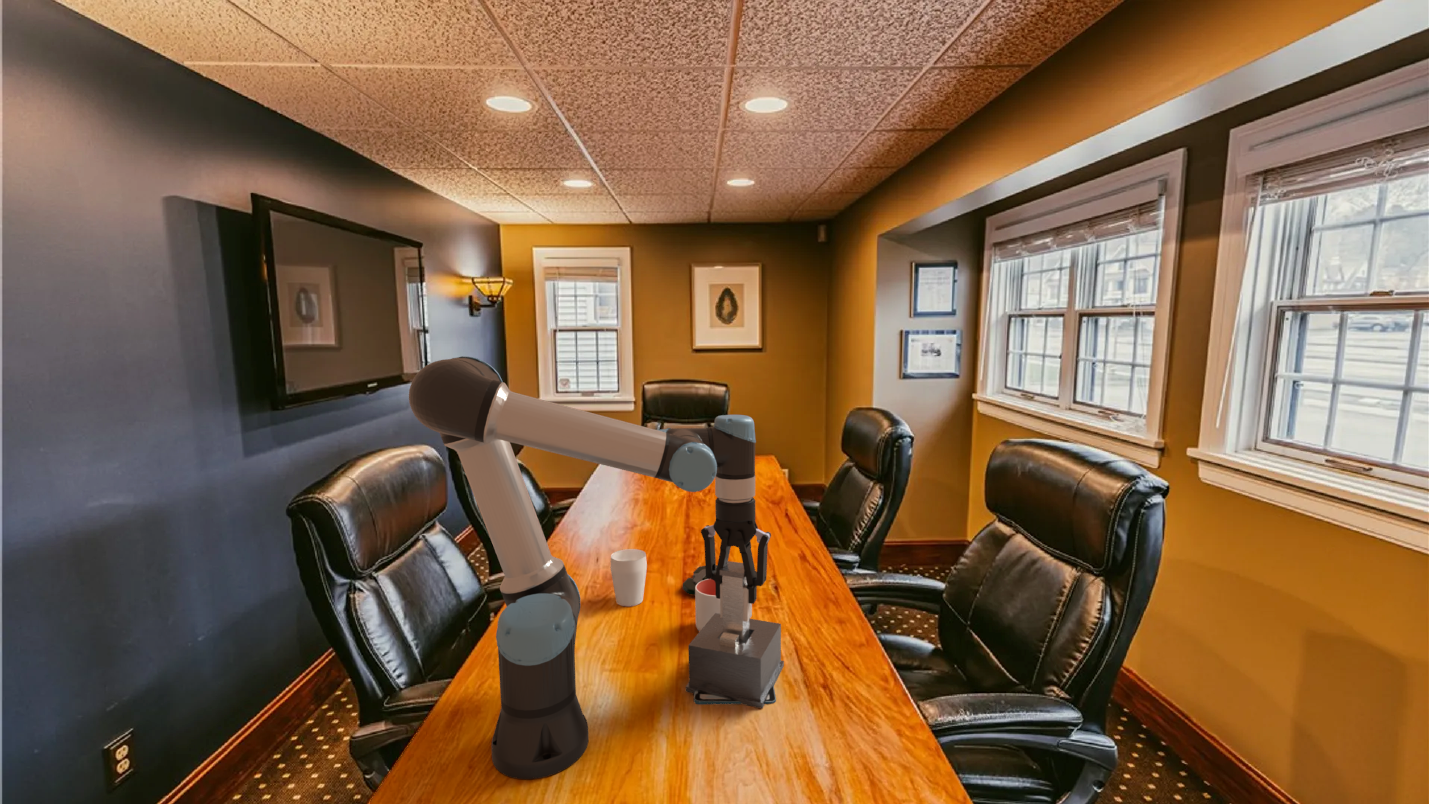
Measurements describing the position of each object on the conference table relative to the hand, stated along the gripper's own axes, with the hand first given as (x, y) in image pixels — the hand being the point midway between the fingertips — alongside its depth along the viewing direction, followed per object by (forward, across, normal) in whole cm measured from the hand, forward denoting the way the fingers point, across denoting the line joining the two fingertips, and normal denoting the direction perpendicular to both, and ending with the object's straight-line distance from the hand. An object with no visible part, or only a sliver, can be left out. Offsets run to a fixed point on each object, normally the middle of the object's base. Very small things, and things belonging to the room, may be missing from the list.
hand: (736, 616), depth 116 cm
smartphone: (+13, -1, +4) cm, 14 cm away
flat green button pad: (+13, +18, -40) cm, 45 cm away
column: (+11, 0, 0) cm, 11 cm away
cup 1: (+13, +36, -24) cm, 45 cm away
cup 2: (+13, +10, -18) cm, 24 cm away
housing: (+13, 0, 0) cm, 13 cm away
